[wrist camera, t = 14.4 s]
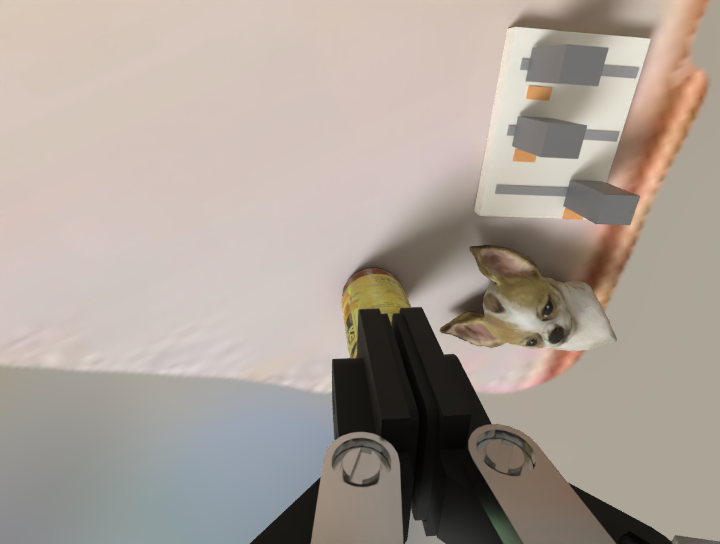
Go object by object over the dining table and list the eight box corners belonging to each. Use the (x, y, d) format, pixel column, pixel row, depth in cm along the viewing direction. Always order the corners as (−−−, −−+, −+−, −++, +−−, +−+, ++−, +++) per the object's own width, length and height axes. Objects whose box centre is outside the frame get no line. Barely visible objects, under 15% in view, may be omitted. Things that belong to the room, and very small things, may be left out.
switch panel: (507, 28, 34) (516, 26, 33) (638, 39, 35) (652, 38, 34) (474, 210, 40) (480, 216, 39) (585, 214, 42) (595, 219, 40)
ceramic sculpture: (601, 398, 40) (451, 371, 38) (557, 346, 48) (431, 322, 46) (657, 300, 36) (493, 264, 34) (600, 260, 44) (464, 230, 42)
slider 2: (518, 116, 35) (548, 123, 31) (552, 118, 35) (587, 125, 31) (511, 146, 36) (540, 157, 32) (545, 147, 36) (578, 159, 32)
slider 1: (532, 47, 33) (567, 43, 28) (568, 50, 33) (608, 47, 29) (525, 81, 34) (557, 83, 30) (560, 84, 34) (598, 86, 30)
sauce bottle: (330, 280, 42) (343, 438, 24) (388, 254, 41) (447, 396, 24) (357, 330, 45) (387, 505, 27) (412, 307, 44) (480, 469, 26)
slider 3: (570, 179, 38) (605, 194, 33) (601, 181, 38) (640, 196, 34) (563, 206, 39) (595, 224, 34) (593, 207, 39) (629, 225, 35)
